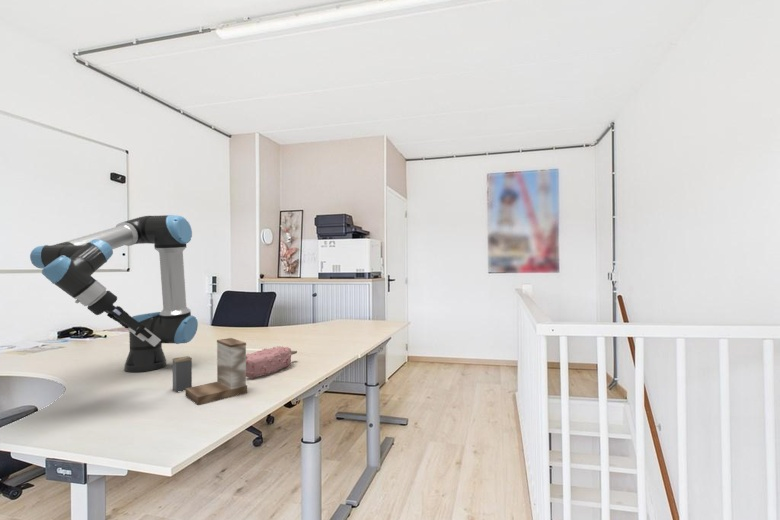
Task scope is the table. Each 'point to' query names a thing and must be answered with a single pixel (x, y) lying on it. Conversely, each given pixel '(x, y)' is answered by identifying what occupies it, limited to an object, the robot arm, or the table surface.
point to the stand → (224, 374)
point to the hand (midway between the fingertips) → (151, 340)
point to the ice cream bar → (267, 361)
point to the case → (182, 373)
